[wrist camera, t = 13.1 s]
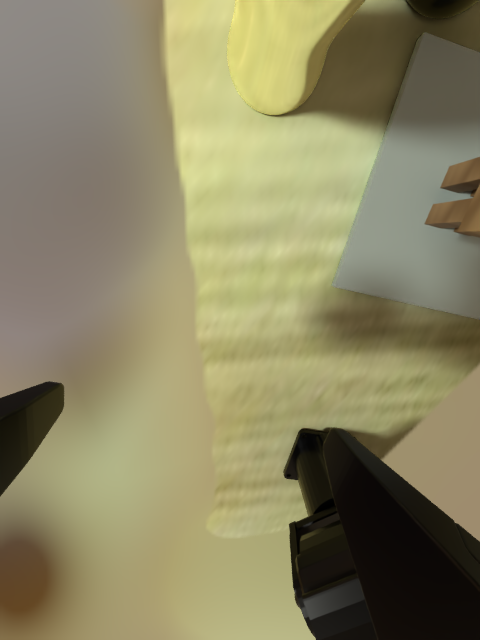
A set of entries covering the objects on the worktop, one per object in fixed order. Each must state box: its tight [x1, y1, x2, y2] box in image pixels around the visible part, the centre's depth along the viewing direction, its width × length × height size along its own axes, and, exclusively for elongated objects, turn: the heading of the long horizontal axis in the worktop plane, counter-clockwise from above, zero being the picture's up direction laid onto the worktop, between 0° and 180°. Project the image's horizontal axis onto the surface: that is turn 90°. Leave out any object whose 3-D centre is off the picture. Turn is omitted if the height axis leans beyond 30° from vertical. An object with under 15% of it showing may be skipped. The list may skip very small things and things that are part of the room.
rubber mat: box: [332, 32, 480, 320], centre depth 18 cm, size 16×14×1 cm
